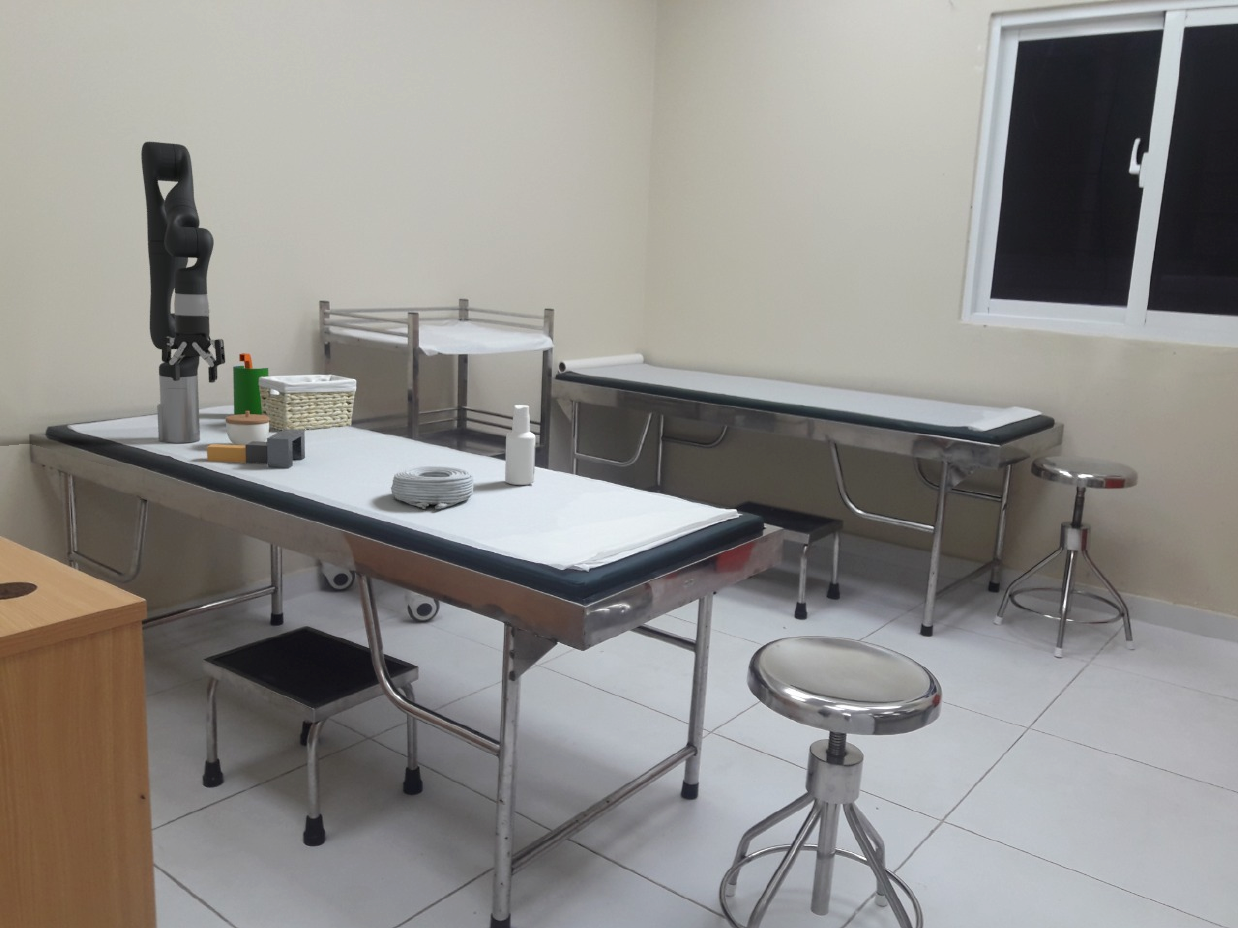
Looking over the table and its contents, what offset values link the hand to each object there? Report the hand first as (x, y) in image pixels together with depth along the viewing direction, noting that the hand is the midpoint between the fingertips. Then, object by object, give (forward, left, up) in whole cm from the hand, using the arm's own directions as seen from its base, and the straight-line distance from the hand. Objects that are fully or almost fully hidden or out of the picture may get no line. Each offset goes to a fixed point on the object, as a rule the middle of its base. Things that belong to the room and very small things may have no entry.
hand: (194, 381), depth 237 cm
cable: (+62, -31, -19) cm, 72 cm away
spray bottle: (+80, -12, -19) cm, 83 cm away
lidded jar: (+7, +17, -19) cm, 26 cm away
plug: (+16, -1, -19) cm, 24 cm away
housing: (+22, -1, -19) cm, 29 cm away
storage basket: (+12, +51, -19) cm, 56 cm away
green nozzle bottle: (-8, +61, -19) cm, 64 cm away
